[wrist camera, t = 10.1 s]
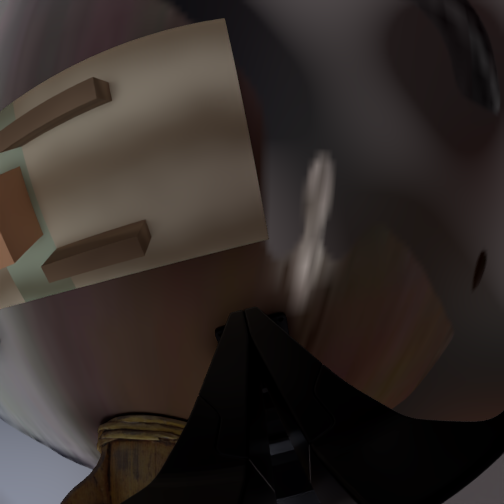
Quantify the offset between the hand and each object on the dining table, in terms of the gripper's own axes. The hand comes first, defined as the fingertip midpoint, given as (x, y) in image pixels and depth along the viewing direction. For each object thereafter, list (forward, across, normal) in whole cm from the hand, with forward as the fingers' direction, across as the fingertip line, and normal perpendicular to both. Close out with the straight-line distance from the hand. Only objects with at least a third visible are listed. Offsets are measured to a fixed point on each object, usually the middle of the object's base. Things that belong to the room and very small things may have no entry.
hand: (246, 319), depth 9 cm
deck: (+12, +12, -5) cm, 17 cm away
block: (+9, +15, -5) cm, 18 cm away
